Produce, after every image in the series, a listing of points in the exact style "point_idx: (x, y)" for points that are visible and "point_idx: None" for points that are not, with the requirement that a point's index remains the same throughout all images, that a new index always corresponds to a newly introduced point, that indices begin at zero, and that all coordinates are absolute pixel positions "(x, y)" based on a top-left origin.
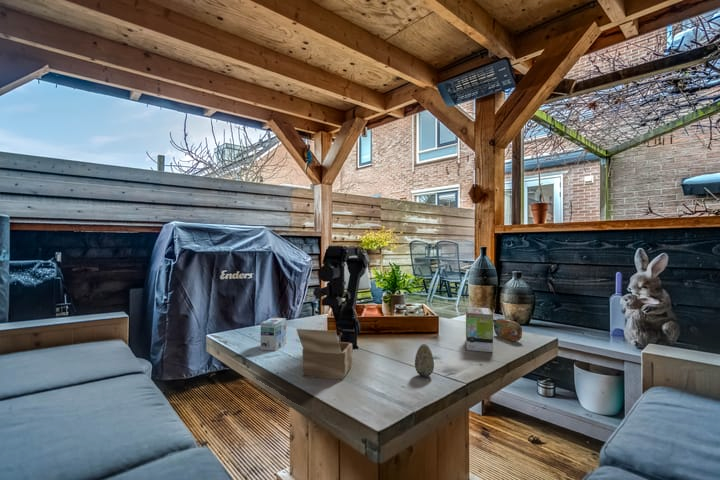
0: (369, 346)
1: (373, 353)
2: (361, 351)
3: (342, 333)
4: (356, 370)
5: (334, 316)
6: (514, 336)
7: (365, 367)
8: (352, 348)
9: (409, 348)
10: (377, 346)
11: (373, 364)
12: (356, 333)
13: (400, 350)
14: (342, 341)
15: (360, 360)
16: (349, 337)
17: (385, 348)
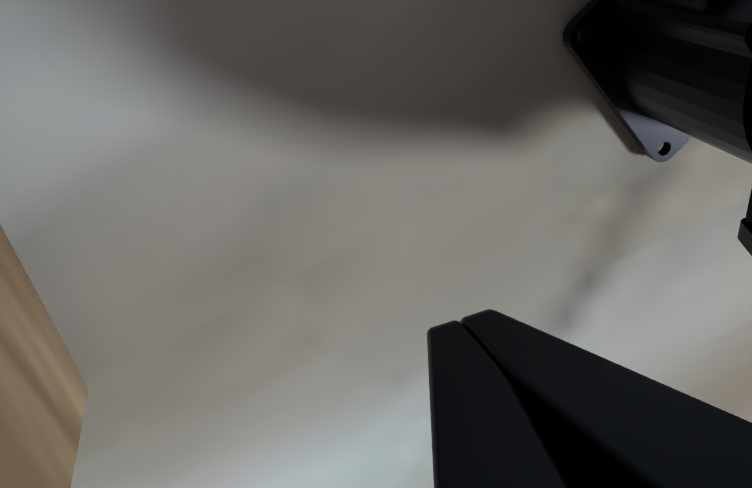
0: (731, 218)
1: None
2: (566, 228)
3: (745, 29)
4: None
5: (434, 459)
6: None
7: (153, 471)
8: (618, 115)
9: None
10: (738, 279)
11: (259, 479)
12: (741, 237)
13: None
14: (657, 11)
15: (306, 351)
16: (703, 121)
17: (690, 359)
